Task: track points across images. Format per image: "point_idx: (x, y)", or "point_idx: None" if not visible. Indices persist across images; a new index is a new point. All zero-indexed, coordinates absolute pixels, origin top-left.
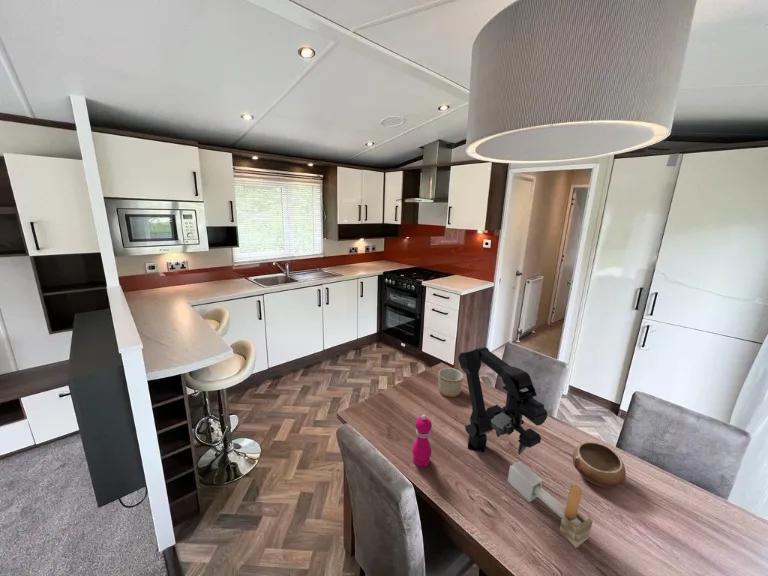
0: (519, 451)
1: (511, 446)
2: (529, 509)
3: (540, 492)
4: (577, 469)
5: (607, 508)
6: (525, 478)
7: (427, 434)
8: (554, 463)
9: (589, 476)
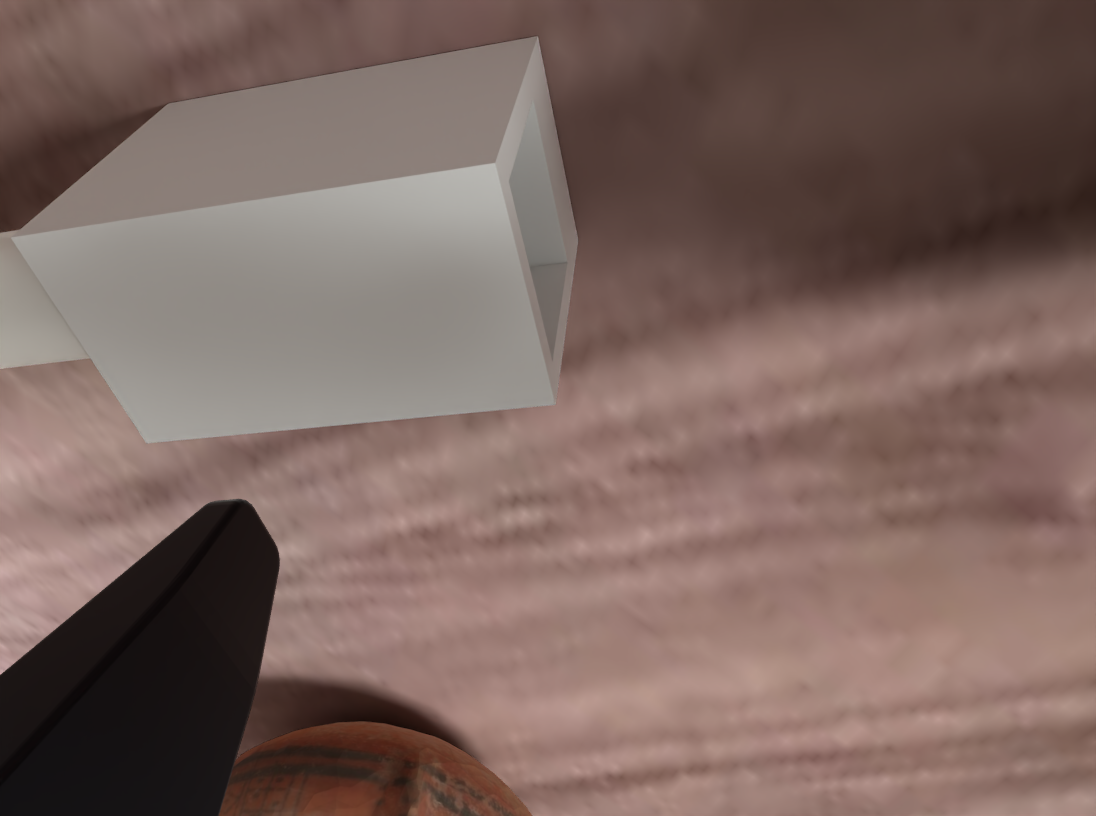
0: (122, 591)
1: (993, 488)
2: (54, 13)
3: (9, 283)
4: (392, 756)
5: None
6: (176, 239)
7: None
8: (592, 653)
9: (275, 777)
